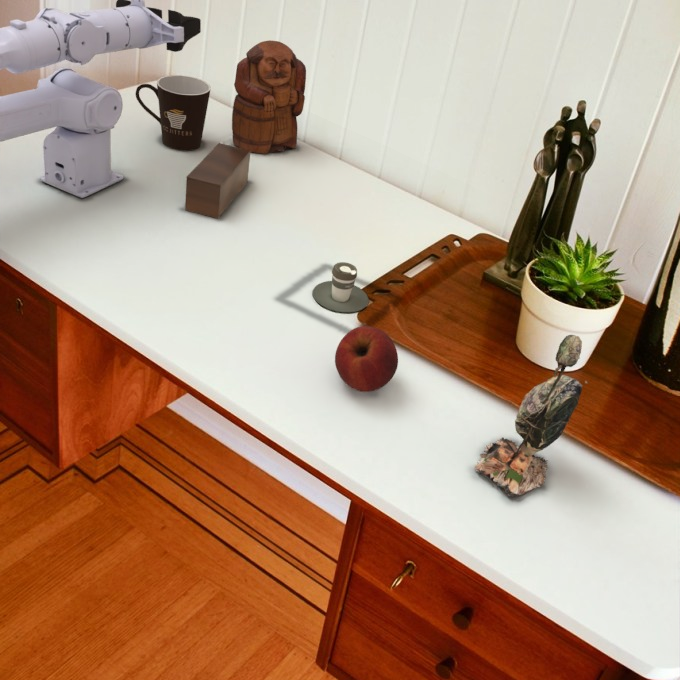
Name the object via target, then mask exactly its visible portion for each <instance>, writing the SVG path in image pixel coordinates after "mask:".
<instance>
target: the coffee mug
mask: <svg viewBox="0 0 680 680" xmlns="http://www.w3.org/2000/svg"><path fill="white" fill-rule="evenodd" d="M145 88H146V89H149V90H151V91H153V93H154V94H155V95H156V98H157V101H158V107H159V108H158V110H159V116H158V115H157V114H156V113H155V112H153V111H152V109H150V108H149V107H148V106H147V105H146V104H145V103H144V101H143V100H142V99H141V96H140V92H141V90H142V89H145ZM211 91H212V90H211V85H210V84H209V83H208V82H207V81H205V80H203V79H201V78H197V77H194V76H190V75H182V74H172V75H171V74H170V75H165V76H162V77H159V78H158V79H157V80H156V86H154V85H152V84H150V83H141V84H140V85H138V86H137V87H136V90H135V98H136V100H137V102H138V103H139V105H140V106H141V107H142V108H143V109H144V111H145V112H147V114H148V115H150V116H151V117H152V118H153V119H155V120H156V121H157V122H158V123H159V125H160V129H161V140H162V144H163V145H164V146H166V147H168V148H170V149H172V150H176V151H183V152H184V151H186V152H188V151H195V150H198V149H199V148H200V147H201V144H202V139H203V135H204V134H203V133H204V128H205V123H206V117H207V112H208V106H209V101H210V94H211Z"/></svg>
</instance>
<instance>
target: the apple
mask: <svg viewBox="0 0 680 680" xmlns="http://www.w3.org/2000/svg"><path fill="white" fill-rule="evenodd" d="M397 350H398V349H397V347H396V344H395V343H394V341H393V339H392V338H391V337H390V335H388V333H386V332H385V331H384V330H382V329H380V328H378V327H375V326H371V325H369V326H368V325H362V326H358V327H355V328H353V329H351V330H350V331H348V332H347V333H346V334H345V335H344V336H343V337H342V339H341V340H340V341H339V343H338V345H337V347H336V350H335V353H334V354H335V355H334V364H335V365H334V366H335V368H336V371H337V374H338V376H339V377H340V378H341V380H342V381H343V382H344V384H346V385H347V386H348V387H349V388H351V389H353V390H355V391H358V392H361V393H370V392H374V391H377V390H379V389H381V388H383V387H385V386H387V384H388V383H390V382H391V380H392V379H393V378H394V377H395V374H396V372H397V370H398V365H399V356H398V351H397Z"/></svg>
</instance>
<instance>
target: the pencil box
mask: <svg viewBox="0 0 680 680" xmlns="http://www.w3.org/2000/svg"><path fill="white" fill-rule="evenodd" d="M250 159H251V152H250V151H249V150H245V149H242V148H240V147H238V146H233V145H230V144H229V145H228V144H225V143H221V142H218V143H217V144H216V145H215V147H214V148H213V149H212V150H211V151H210V152H208V154H207V155H206V156H205V157H204V158H203V159H202V160H201V161H200V162H199V163H198V164H197V165H196V166H195V167H194V168H193V169H192V170H191V172H190V173H188V174H187V175H186V184H185V185H186V186H185V203H184V210H185V211H187V212H190V213H193V214H194V213H195V214H198V215H203V216H206V217H211V218H214V219H219V218H220V217H221V216H222V215H223V214H224V212H225V211H226V209H227V208H229V206H230V205H231V204H232V202H233V201H234V200H235V199H236V197H237V196H239V194H240V193H241V192H242V190H243V189H244V187H245V186H246V185H247V183H248V182H249V181H248V180H249V170H250V161H251V160H250Z"/></svg>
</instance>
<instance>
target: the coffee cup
mask: <svg viewBox="0 0 680 680" xmlns="http://www.w3.org/2000/svg"><path fill="white" fill-rule="evenodd" d="M331 274H332V276H331V280H328V281H323V282H321V283H318V284H317V285H316V286H314V288H313V290H312V297H313V298H314V301H316V302H317V304H319V305H320V306H321V307H322V308H324V309H326V310H328V311H331V312H334V313H340V314H352V313H357V312H360V311H362V310H364V309H365V308H366V307H367V306H368V304H369V297H368V295H367V293H366V291H364V290H363V289H362V288H361V287H358V286H357V285H355V283H356V278H357V277H358V269H357V267H356V266H355V265H354V264H353V263H349V262H343V261H342V262H336V263H334V265H333V266H332V270H331Z"/></svg>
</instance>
